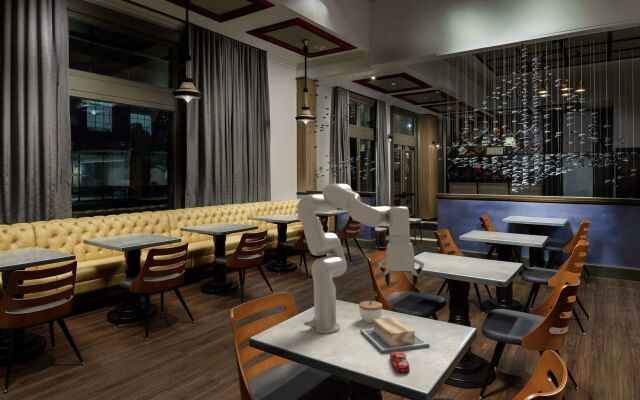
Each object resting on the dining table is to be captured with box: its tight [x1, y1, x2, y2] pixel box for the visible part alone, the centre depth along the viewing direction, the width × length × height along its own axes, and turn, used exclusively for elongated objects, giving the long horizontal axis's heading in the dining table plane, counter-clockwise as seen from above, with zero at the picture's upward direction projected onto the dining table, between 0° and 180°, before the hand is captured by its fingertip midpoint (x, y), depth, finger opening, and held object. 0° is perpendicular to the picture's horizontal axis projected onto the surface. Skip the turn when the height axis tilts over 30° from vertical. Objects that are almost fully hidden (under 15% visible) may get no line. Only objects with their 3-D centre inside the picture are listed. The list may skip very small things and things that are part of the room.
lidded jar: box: [358, 300, 383, 324], centre depth 179 cm, size 11×11×9 cm
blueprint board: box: [359, 316, 430, 355], centre depth 157 cm, size 20×22×6 cm
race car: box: [389, 351, 411, 373], centre depth 135 cm, size 13×5×4 cm, turn 177°
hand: (401, 285), depth 144 cm, fingers open, 9 cm apart
